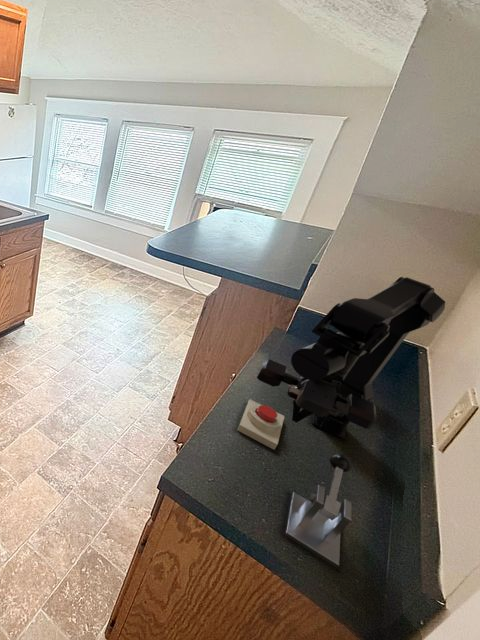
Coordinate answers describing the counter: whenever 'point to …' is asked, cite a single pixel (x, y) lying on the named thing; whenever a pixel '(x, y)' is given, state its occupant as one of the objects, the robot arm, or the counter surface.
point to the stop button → (266, 413)
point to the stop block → (260, 426)
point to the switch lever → (335, 486)
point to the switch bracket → (317, 525)
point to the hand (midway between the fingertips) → (294, 420)
